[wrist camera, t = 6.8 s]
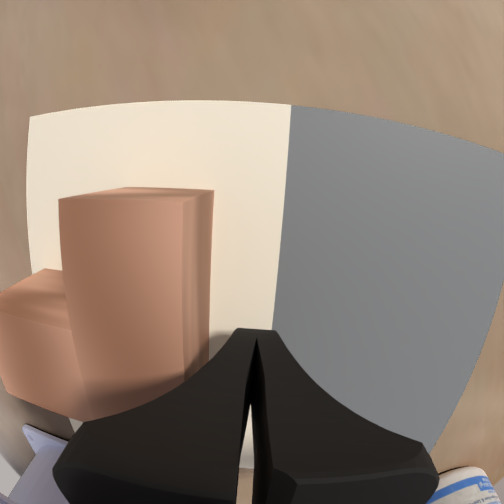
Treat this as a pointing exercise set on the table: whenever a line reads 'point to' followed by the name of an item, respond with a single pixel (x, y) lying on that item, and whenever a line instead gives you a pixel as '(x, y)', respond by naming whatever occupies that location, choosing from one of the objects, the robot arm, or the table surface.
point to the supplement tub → (464, 488)
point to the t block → (113, 304)
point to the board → (310, 237)
